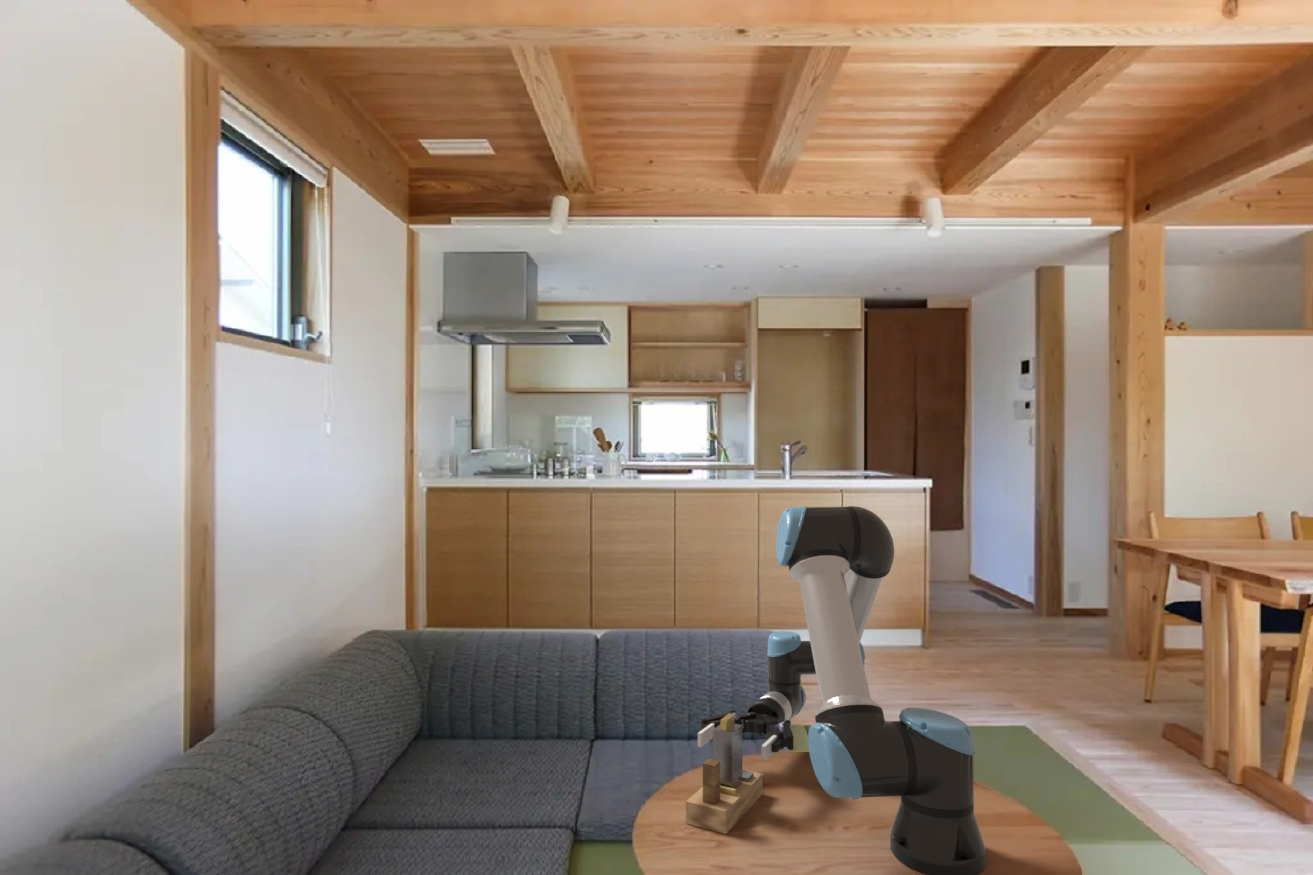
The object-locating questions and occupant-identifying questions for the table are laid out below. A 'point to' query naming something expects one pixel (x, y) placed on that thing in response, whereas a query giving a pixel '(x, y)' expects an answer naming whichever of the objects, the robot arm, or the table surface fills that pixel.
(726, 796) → the body
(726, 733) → the grey metal pillar
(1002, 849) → the table surface
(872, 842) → the table surface
